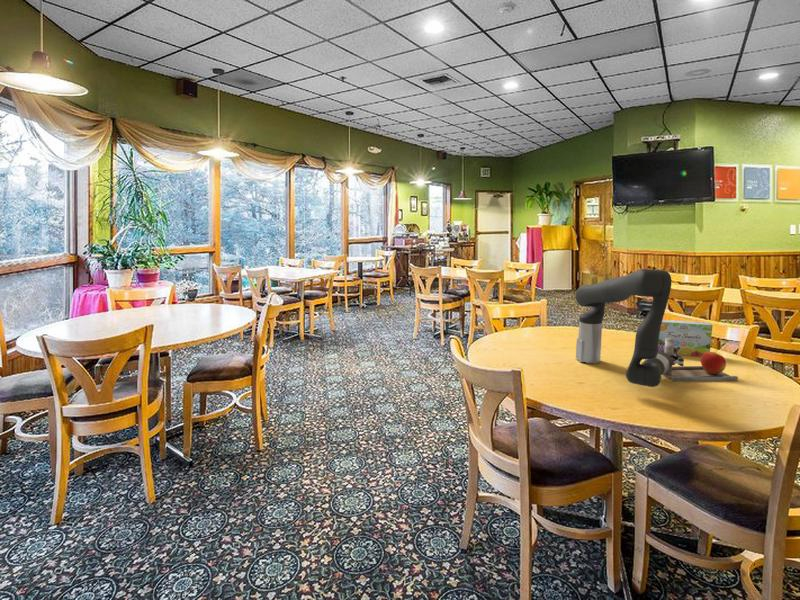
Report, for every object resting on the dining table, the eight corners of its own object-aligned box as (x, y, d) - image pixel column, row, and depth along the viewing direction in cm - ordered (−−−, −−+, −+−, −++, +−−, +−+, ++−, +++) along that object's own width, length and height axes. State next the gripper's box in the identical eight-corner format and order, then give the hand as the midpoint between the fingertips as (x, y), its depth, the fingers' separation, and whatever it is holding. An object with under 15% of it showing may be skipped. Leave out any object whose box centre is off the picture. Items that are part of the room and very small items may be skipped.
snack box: (655, 353, 214) (657, 321, 211) (653, 350, 219) (656, 318, 216) (709, 357, 206) (712, 324, 203) (706, 354, 211) (709, 321, 208)
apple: (696, 369, 187) (698, 345, 186) (719, 371, 185) (722, 346, 184) (703, 376, 180) (706, 350, 178) (728, 377, 178) (730, 352, 176)
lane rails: (673, 381, 176) (673, 377, 176) (654, 370, 190) (654, 366, 189) (737, 380, 176) (738, 376, 176) (714, 369, 189) (714, 366, 189)
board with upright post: (670, 379, 178) (673, 342, 176) (656, 371, 188) (658, 336, 185) (733, 379, 178) (737, 341, 175) (716, 370, 187) (720, 335, 185)
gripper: (680, 357, 166) (692, 347, 178) (637, 350, 176) (651, 341, 188) (678, 378, 167) (690, 366, 180) (636, 370, 177) (650, 360, 189)
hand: (670, 354), depth 184 cm, fingers closed on board with upright post, 3 cm apart
